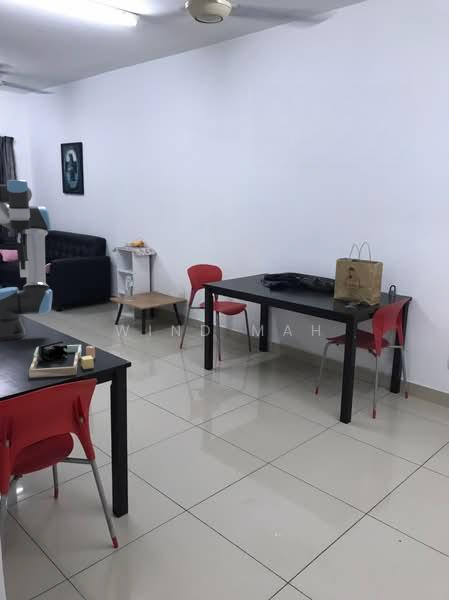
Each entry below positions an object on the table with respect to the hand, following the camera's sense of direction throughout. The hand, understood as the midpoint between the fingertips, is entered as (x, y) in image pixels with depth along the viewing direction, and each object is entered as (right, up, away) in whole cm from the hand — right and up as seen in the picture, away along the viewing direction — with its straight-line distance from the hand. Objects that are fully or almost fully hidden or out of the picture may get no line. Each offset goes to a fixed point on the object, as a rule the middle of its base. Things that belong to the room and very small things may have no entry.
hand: (24, 276), depth 196 cm
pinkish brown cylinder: (+26, -35, +6) cm, 44 cm away
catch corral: (+12, -34, +7) cm, 37 cm away
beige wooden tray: (+15, -37, -5) cm, 40 cm away
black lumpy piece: (+11, -35, +5) cm, 37 cm away
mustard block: (+27, -37, -3) cm, 46 cm away
